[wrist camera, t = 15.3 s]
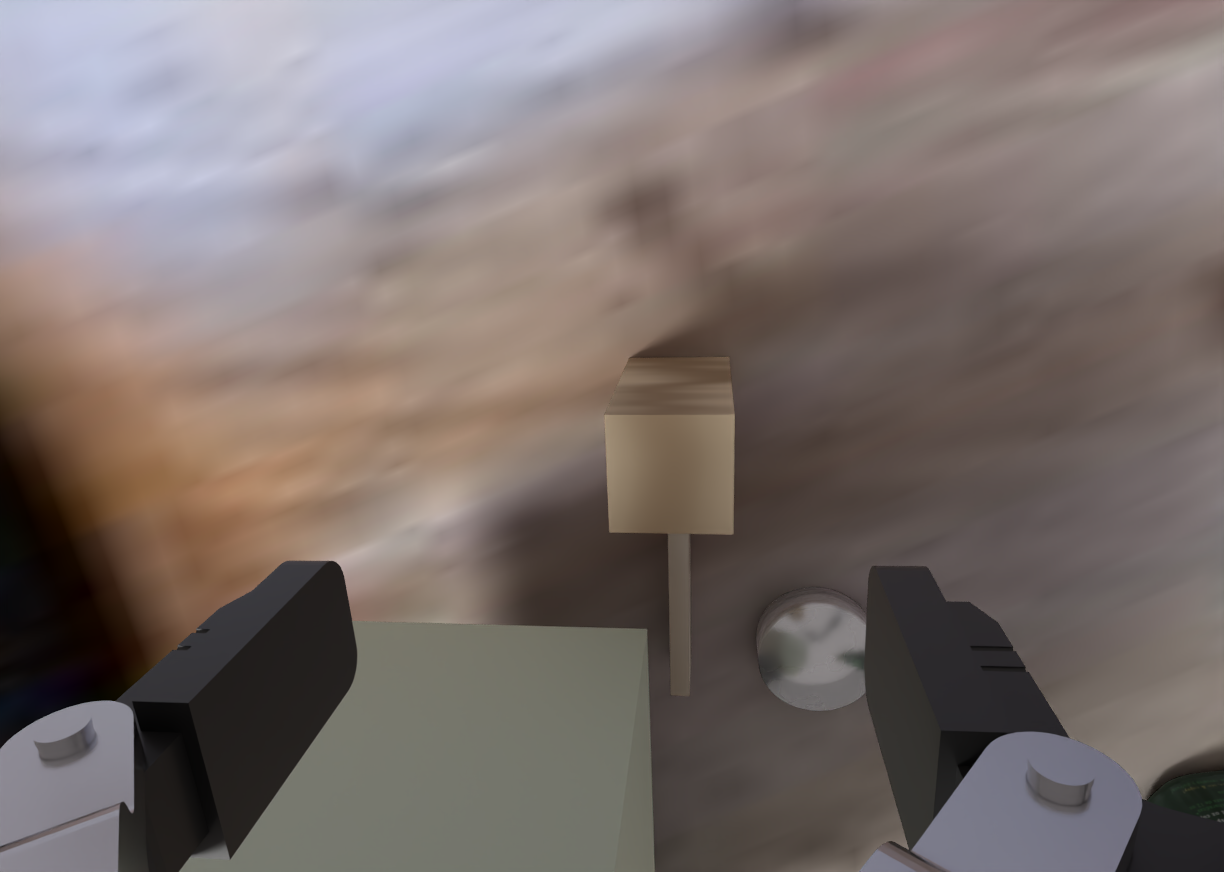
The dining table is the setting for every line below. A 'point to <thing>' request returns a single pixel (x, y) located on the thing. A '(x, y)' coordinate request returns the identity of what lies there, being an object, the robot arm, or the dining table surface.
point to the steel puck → (813, 648)
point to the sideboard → (472, 758)
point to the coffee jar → (1194, 795)
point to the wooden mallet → (672, 470)
